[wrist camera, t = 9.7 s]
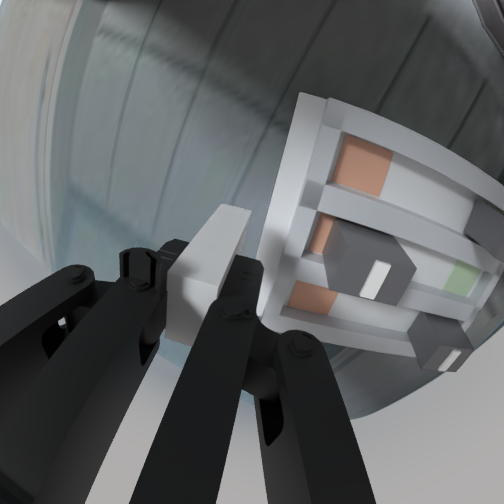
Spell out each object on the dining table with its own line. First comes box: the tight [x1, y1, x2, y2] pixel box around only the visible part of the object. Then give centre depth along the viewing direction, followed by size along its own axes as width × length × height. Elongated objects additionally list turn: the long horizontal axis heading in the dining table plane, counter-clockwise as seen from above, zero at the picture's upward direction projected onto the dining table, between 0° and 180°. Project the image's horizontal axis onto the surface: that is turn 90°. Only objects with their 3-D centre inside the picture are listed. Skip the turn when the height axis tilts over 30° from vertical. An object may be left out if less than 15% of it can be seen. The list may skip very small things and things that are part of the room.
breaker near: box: [464, 199, 504, 263], centre depth 12 cm, size 4×2×4 cm, turn 77°
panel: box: [256, 92, 504, 358], centre depth 16 cm, size 20×15×3 cm
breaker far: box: [407, 311, 474, 372], centre depth 16 cm, size 4×2×4 cm, turn 77°
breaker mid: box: [322, 217, 417, 306], centre depth 14 cm, size 4×2×4 cm, turn 77°
